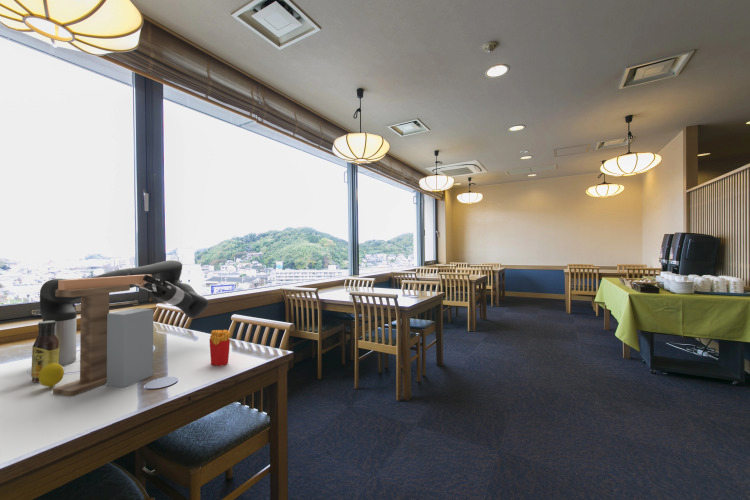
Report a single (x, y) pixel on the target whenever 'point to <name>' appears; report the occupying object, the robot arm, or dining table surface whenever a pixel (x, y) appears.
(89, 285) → the terracotta bar
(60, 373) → the lemon
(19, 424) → the dining table surface
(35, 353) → the sauce bottle
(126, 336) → the grey rectangular block
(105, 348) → the walnut shelf
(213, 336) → the french fries
